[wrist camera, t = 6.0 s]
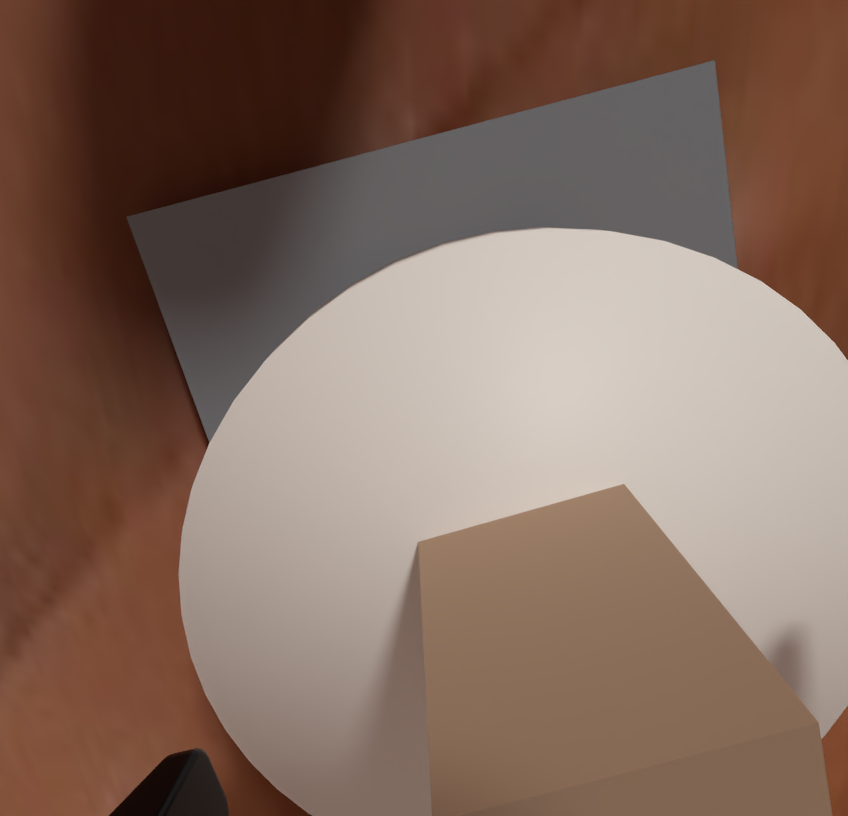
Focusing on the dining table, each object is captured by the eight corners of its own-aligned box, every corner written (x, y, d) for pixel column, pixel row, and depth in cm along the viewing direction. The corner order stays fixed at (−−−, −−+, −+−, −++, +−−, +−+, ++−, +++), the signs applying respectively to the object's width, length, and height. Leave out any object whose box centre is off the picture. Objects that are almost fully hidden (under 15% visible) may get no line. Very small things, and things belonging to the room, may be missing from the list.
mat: (701, 66, 13) (714, 60, 13) (766, 638, 17) (779, 652, 17) (137, 216, 14) (126, 216, 13) (327, 740, 18) (325, 757, 17)
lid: (818, 128, 9) (1421, 9, 4) (885, 737, 12) (1270, 1155, 7) (86, 352, 9) (-310, 527, 4) (326, 881, 12) (271, 1372, 7)
